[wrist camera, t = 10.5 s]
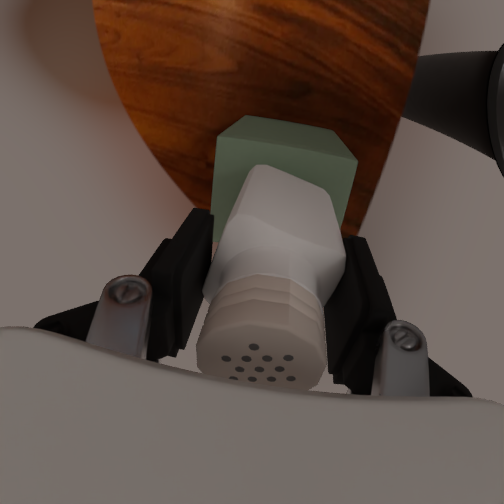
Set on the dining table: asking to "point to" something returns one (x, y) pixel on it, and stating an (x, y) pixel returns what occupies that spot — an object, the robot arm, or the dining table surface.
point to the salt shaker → (272, 284)
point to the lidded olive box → (279, 161)
